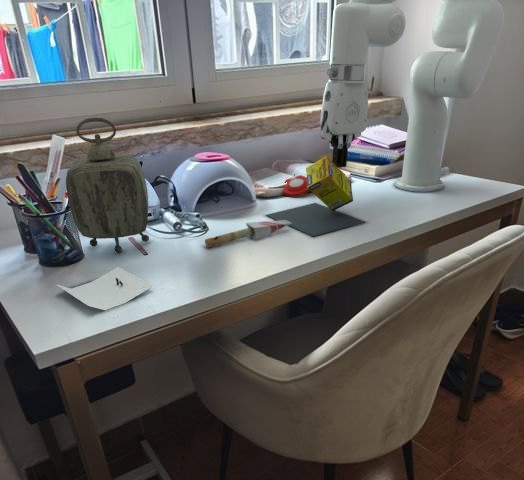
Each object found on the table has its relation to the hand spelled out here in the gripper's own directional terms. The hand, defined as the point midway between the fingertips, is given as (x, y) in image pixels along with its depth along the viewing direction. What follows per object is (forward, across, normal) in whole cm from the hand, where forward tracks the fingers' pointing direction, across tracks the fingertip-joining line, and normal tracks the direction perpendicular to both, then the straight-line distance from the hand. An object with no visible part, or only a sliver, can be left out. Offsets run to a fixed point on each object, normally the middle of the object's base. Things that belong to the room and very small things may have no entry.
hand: (338, 166), depth 114 cm
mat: (+11, -7, -1) cm, 13 cm away
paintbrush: (+12, -25, -2) cm, 28 cm away
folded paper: (+14, -59, -9) cm, 62 cm away
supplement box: (+7, +2, 0) cm, 8 cm away
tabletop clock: (+13, -50, +9) cm, 53 cm away
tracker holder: (+11, +4, +18) cm, 21 cm away
